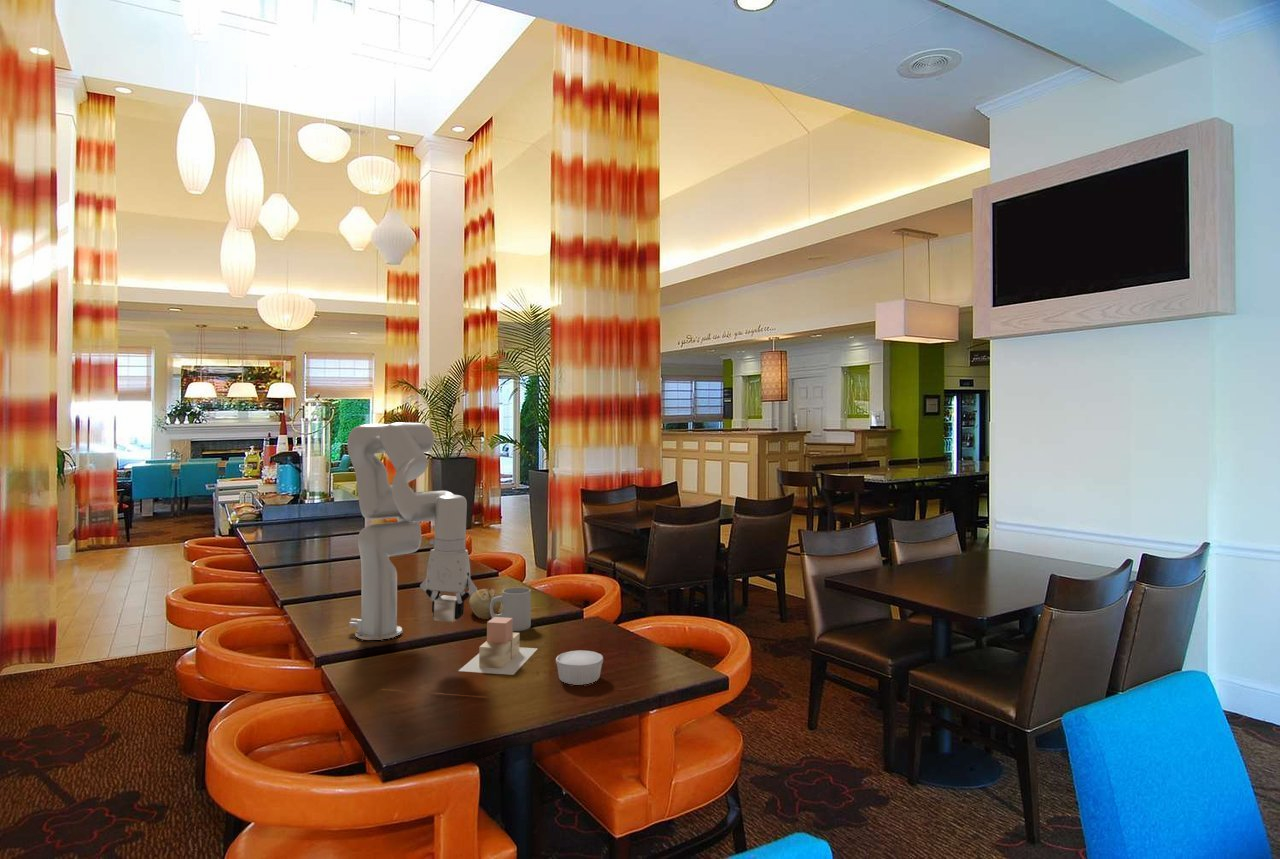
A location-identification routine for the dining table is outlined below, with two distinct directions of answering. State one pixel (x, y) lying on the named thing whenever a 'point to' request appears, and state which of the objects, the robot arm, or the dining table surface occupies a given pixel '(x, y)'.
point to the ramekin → (579, 667)
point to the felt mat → (508, 669)
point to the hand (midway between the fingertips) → (447, 616)
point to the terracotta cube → (499, 629)
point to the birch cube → (445, 608)
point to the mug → (515, 607)
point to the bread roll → (484, 603)
